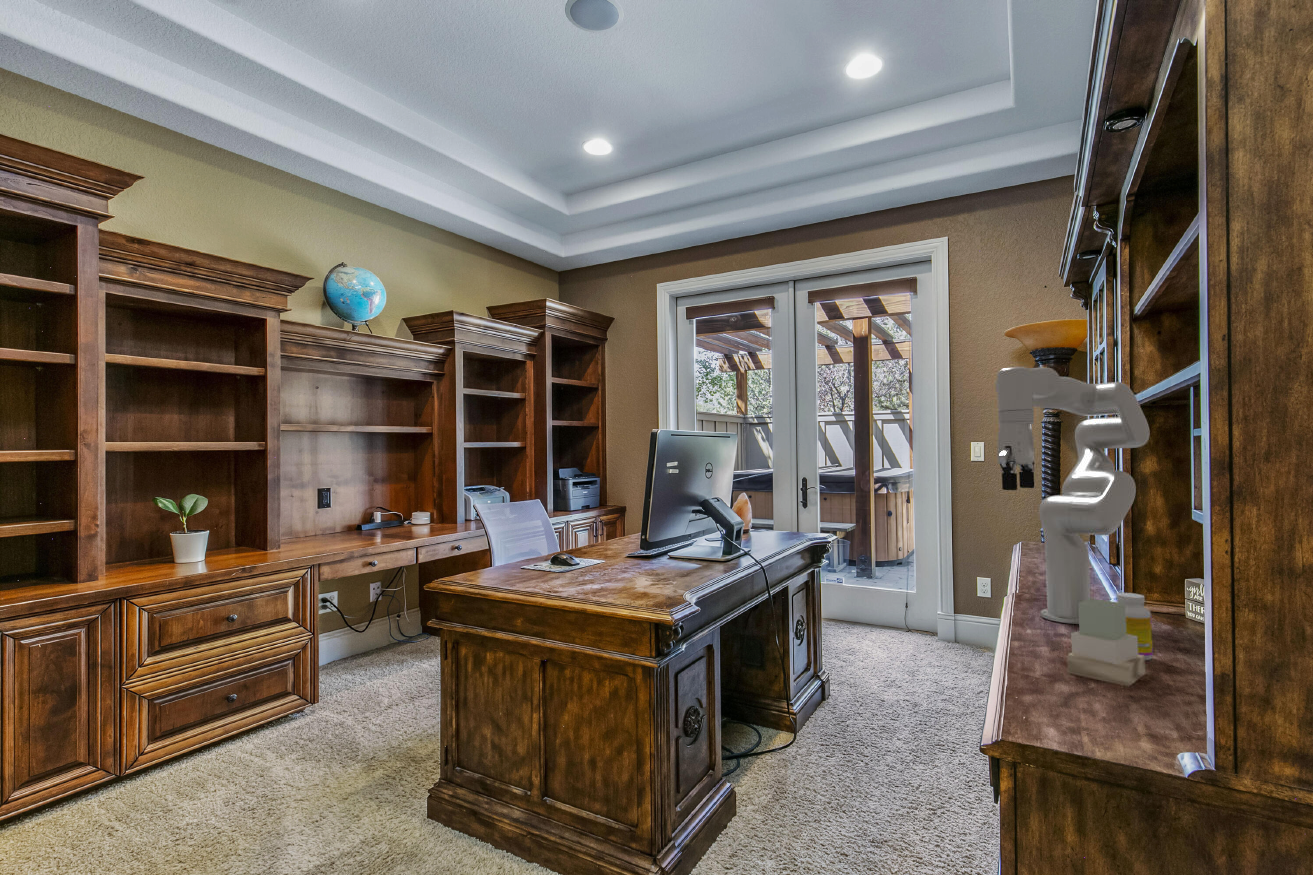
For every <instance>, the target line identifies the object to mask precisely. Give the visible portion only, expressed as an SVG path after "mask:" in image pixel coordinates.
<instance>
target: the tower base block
mask: <svg viewBox="0 0 1313 875" xmlns="http://www.w3.org/2000/svg"><path fill="white" fill-rule="evenodd" d="M1066 659H1067V660H1066V662H1067V674H1072V675H1075V676H1076V675H1077V676H1078V677H1079V676H1080V677H1085V678H1089V679H1090V678H1091V679H1092V680H1093V679H1094V680H1098V681H1103V682H1106V683H1111V684H1117V685H1120V686H1124V687H1130V686H1131V685H1132V684H1134V683H1135V682H1137V681H1138V680H1139V679H1140V678H1142V677H1143V676H1145V675H1146V660H1145V655H1139V654H1138V657H1137V658H1134V659H1132V660H1129V661H1126V662H1123V663H1121V664H1118V665H1116V664H1112V663H1108V662H1104V661H1100V660H1095V659H1091V658H1087V657H1083V656H1079V655H1075V654H1072V651H1071V652H1069V653H1068V654H1067V656H1066Z"/></svg>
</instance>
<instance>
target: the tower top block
mask: <svg viewBox="0 0 1313 875" xmlns="http://www.w3.org/2000/svg"><path fill="white" fill-rule="evenodd" d="M1070 638H1071V642H1070V644H1071V652H1072V654H1075V655H1079V656H1083V657H1087V658H1091V659H1095V660H1100V661H1104V662H1108V663H1112V664H1116V665H1118V664H1121V663H1123V662H1126V661H1129V660H1132V659H1134V658H1137V657H1138V640H1137V636H1134V635H1129V634H1126V635H1124V636H1123V637H1121V638H1119V639H1117V640H1110V639H1105V638H1099V637H1094V636H1089V635H1083V634H1080V632H1079V630H1077V631H1074V632H1071V633H1070Z"/></svg>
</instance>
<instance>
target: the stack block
mask: <svg viewBox="0 0 1313 875" xmlns="http://www.w3.org/2000/svg"><path fill="white" fill-rule="evenodd" d="M1078 606H1079V624H1078V626H1079V630H1078V631H1079V632H1080V634H1083V635H1089V636H1094V637H1099V638H1105V639H1110V640H1117V639H1119V638H1121V637H1123V636H1124V635H1126V609H1125V603H1119V601H1110V600H1106V599H1105V600H1104V599H1097V598H1091V597H1090V599H1088V600H1085V601H1083V602H1080V603H1078Z"/></svg>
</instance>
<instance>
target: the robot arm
mask: <svg viewBox="0 0 1313 875" xmlns="http://www.w3.org/2000/svg"><path fill="white" fill-rule="evenodd" d="M994 384H995V387H994V388H995V391H996V393H997V411H998V412H997V413H998V426H999V428H998V435H997V463H998V464H999V466H1000V468H1001V469H1000V472H1001V485H1002V486H1001V489H1002V490H1003V491H1017V490H1018V480H1019V487H1020V488H1021V489H1034V488H1035V467H1034V466H1035V456H1036V455H1035V446H1034V445H1035V444H1034V433H1033V428H1032V425H1034V424H1035V421H1034V420H1035V419H1034V418H1035V417H1034V416H1035V415H1034V407H1038V408H1044V409H1056V410H1061V411H1065V412H1068V413H1071V414H1075V415H1079V416H1084V417H1086V416H1087V417H1089V416H1090V417H1091V416H1106V415H1107V416H1108V415H1117V416H1110V417H1109V416H1108V417H1093V418H1088V419H1084V420H1083V421H1080V422H1079V423H1078V425H1077V426H1076V427H1075V430H1074V441H1075V446H1076V452H1077V457H1078V460H1077V462H1076V463H1075V466H1073V468H1072V470H1071V471H1070V473H1069V474H1068V476H1067V477H1066V478H1065V479H1064V480H1065V481H1064V482H1063V484H1062V487H1061V494H1057V495H1056V494H1055V495H1050V496H1048V497H1046V498H1044V499H1043V500H1042V501H1041V502H1040V505H1039V508H1038V515H1039V519H1040V524H1041V528H1042V533H1043V540H1044V552H1045V554H1044V555H1045V556H1044V557H1045V579H1046V581H1045V582H1046V603H1047V605H1046V607H1047V608H1044V609H1042V610H1041V609H1040V616H1041V617H1042V618H1043V619H1046V620H1048V621H1053V622H1058V623H1062V624H1063V623H1064V624H1071V625H1072V624H1073V625H1079V606H1078V603H1080V602H1083V601H1085V600H1088V599H1090V598H1091V584H1090V582H1091V578H1090V554H1089V549H1088V546H1087V544H1086V542H1085V541H1084V540H1083V538H1082V537H1081V535H1093V536H1109V535H1112V534H1113V533H1115V532H1116V531H1117V530H1118V528H1119V526H1120V525H1121V524H1122V523H1123V521H1124V519H1125V518H1126V515H1127V514H1128V512H1129V510H1130V509H1131V507H1132V505H1133V504H1134V501H1135V499H1136V493H1137V490H1136V482H1135V479H1134V478H1133V476H1132V475H1130V474H1129V473H1127V472H1126V471H1123V470H1116V469H1115V464H1114V463H1113V460H1111V458H1110V457H1109V456H1108V455H1107V454H1106V453H1105V452H1104V451H1103V449H1133V448H1140V447H1143V446H1145V445H1146V444H1147V443H1148V441H1149V439H1150V436H1151V433H1150V426H1149V424H1148V420H1147V418H1146V416H1145V414H1144V412H1143V410H1142V408H1141V405H1140V403H1139V401H1138V399H1137V397H1136V395H1135V393H1134V392H1133V391H1132V389H1131V388H1130V386H1128V385H1127V384H1126V383H1124V382H1122V381H1114V382H1113V381H1112V382H1102V383H1101V382H1100V383H1088V382H1084V381H1081V380H1079V379H1076V378H1073V377H1068V376H1060V374H1058V372H1057V371H1056V370H1054V369H1053V368H1050V367H1045V366H1044V367H1043V366H1042V367H1041V366H1040V367H1033V368H1029V367H1025V366H1015V367H1014V366H1013V367H1006V368H1001V369H1000V370H998V372H997V374H996V381H995V383H994ZM1017 466H1018V467H1019V469H1020V471H1019V472H1017V473H1018V474H1017V473H1016V470H1017ZM1018 476H1019V477H1018ZM1018 478H1019V479H1018ZM1080 534H1081V535H1080Z"/></svg>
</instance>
